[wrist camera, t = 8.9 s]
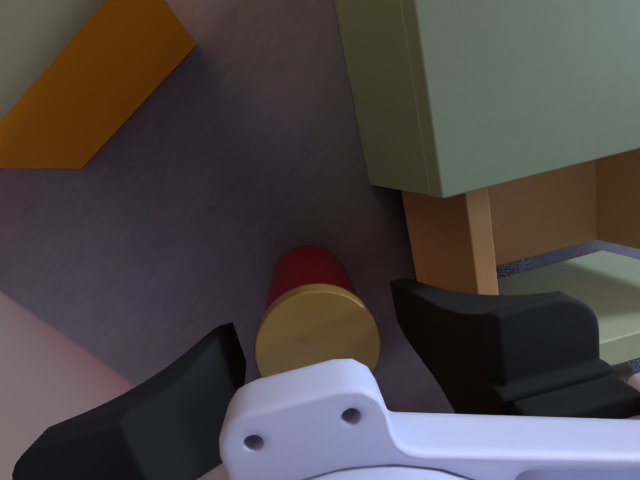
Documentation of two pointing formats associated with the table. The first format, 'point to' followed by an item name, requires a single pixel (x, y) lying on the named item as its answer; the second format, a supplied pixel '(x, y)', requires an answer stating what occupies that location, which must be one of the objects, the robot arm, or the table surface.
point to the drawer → (542, 243)
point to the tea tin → (313, 316)
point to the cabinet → (489, 87)
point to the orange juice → (78, 74)
